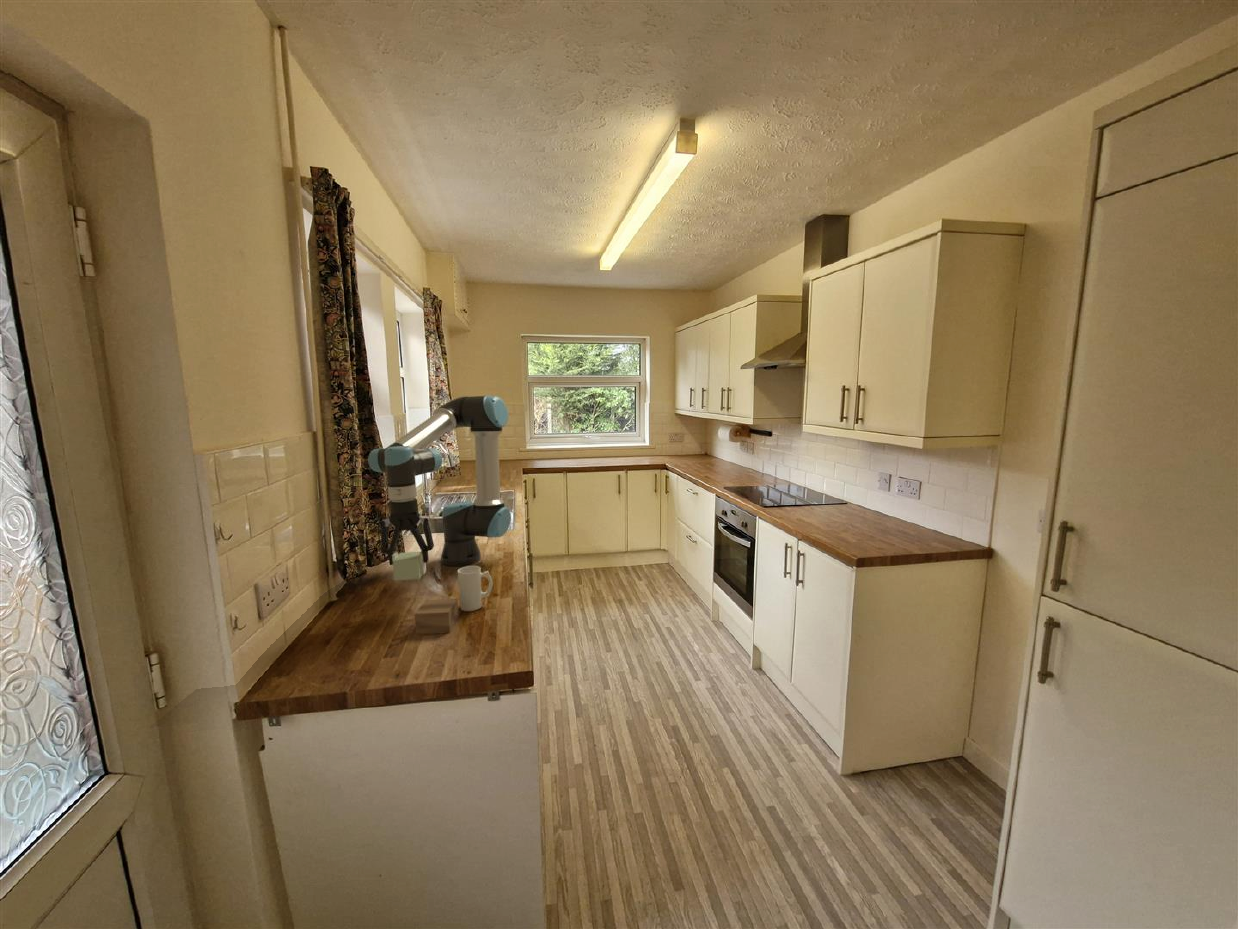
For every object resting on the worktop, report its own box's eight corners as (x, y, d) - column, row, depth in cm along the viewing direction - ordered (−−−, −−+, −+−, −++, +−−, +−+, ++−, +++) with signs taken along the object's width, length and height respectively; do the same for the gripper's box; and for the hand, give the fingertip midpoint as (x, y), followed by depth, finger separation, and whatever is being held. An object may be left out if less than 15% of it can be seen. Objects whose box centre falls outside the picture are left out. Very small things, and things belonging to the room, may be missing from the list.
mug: (458, 613, 141) (456, 574, 140) (460, 603, 148) (458, 567, 146) (493, 609, 144) (491, 571, 142) (494, 600, 150) (492, 563, 149)
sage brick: (401, 571, 145) (400, 553, 144) (425, 570, 146) (424, 551, 145) (394, 580, 138) (392, 561, 137) (419, 578, 139) (417, 559, 138)
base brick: (427, 619, 138) (425, 600, 137) (458, 618, 139) (457, 598, 138) (416, 634, 129) (414, 614, 128) (449, 633, 130) (448, 612, 129)
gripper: (362, 504, 134) (370, 581, 137) (435, 500, 136) (442, 575, 140) (371, 498, 141) (379, 571, 144) (441, 494, 144) (447, 566, 147)
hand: (410, 573), depth 142 cm, fingers closed on sage brick, 7 cm apart
